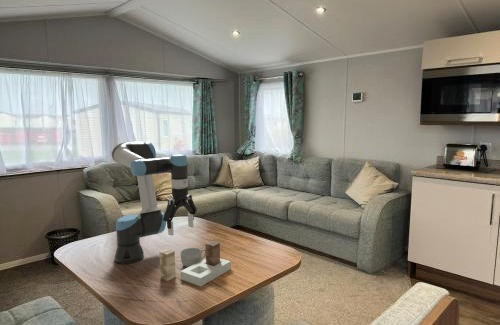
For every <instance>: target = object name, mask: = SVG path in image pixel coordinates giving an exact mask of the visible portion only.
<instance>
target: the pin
mask: <svg viewBox="0 0 500 325" xmlns="http://www.w3.org/2000/svg"><path fill="white" fill-rule="evenodd" d="M175 252H176V251H175V250H173V249H169V248H166V249H163V250H161V251H159V272H160V274H159V275H160V279H162V280H164V281H166V282H167V281H168V282H169V281H171V280H172V279H174V278H176V276H177V275H176V256H175V255H176V253H175Z"/></svg>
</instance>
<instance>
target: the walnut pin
mask: <svg viewBox="0 0 500 325" xmlns="http://www.w3.org/2000/svg"><path fill="white" fill-rule="evenodd" d="M204 244H205V249H206V256H205V259H206V264H208V265H211V266H215V265H217V264H219V263H220V258H221V244H220V242H219V241H214V240H211V241H208V242H207V243H204Z"/></svg>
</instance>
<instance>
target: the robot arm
mask: <svg viewBox="0 0 500 325" xmlns="http://www.w3.org/2000/svg"><path fill="white" fill-rule="evenodd" d="M111 157H112V160H113V161H114V162H115V163H117V164H119V165H124V166H125V167H127V168H130V172H131V174H132V176H134V177H136V179H137V184H138V186H137V187H138V190H139V191H138V192H139V198H140V199H139V200H140V205H141V210H140V212H139V215H138V214H135V213H134V214H127V215H124V216H121V217H120V218H118V219H116V222H115V230H116V243H117V245H116V250H115V254H114V262H115V261H116V262H115V263H117V262H118V264H121V263H127V264H132V263H136V262H139V261H141V260H142V259H144V257H145V254H144V252H145V251H144V250H143V247H142V246H141V240H140V239H141V238H144V237H149V236H153V235H158V234H161V233H163V232H164V231H165V229H166V227H167V234H168V236H174V221H173V220H174V217H175V215H176V213H177V211H178V210H179V209H180V208H181V207H184V208H185V209H186V210H187V212H188V214H187V220H188V223H187V224H188V227H189V228H194V225H195V224H194V219H195V215H196V212H197V208H196V205H195V202H194V199H193V195H192V194H189V188H188V186H189V185H188V183H189V181H188V159H187V158H188V157H187V155H186V154H182V153H181V154H179V153H178V154H171V156H164V157H157V152H156V148H155V146H154V145H153V143H152V142H151V141H131V142H130V141H129V142H127V141H126V142H122V143H119V144H117V145H115V146H114V148H113V149H112V151H111ZM169 173H170V174H171V175H170V177H171V178H170V179H171V195H172V198H173V199H168V200H167V205H166V208H165V212H163V211H161V208H159V206H158V202H157V195H156V190H155V183H154V176H153V175H161V174H169Z"/></svg>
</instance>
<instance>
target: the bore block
mask: <svg viewBox="0 0 500 325" xmlns="http://www.w3.org/2000/svg"><path fill="white" fill-rule="evenodd" d="M230 270H232V261H231V260H228V259H224V258H221V257H220V263H219V264H217V265H215V266H211V265H208V264H206V258H203V259H202V260H201V261H200V262H198V263H196V264H194V265H192V266H190V267H185V268H184V269H182V270H180V272H179V273H180V280H181V281H184V282H187V283H189V284H192V285H196V286H198V287H203V286H204V285H206V284H207V283H210V282H211V281H213V280H215V279H216V278H218V277H219V276H222V275H224V274H225V273H227V272H228V271H230Z"/></svg>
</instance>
